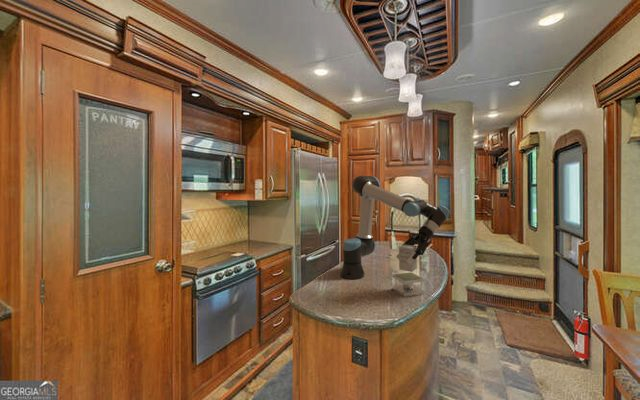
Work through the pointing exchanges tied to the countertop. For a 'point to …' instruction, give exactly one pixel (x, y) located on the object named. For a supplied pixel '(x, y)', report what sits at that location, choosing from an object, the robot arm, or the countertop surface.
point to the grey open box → (408, 284)
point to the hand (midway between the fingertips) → (402, 260)
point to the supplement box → (404, 255)
